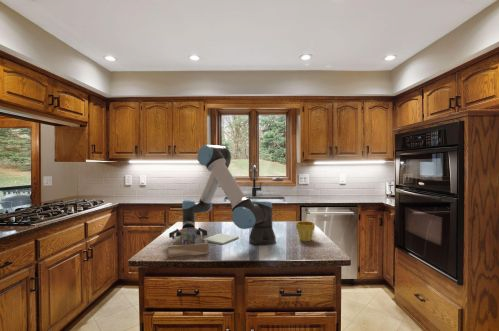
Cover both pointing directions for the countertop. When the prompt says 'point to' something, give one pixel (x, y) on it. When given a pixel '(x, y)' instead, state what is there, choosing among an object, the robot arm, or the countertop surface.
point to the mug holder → (188, 249)
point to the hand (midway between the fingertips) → (188, 237)
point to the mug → (188, 235)
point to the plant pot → (305, 230)
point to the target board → (221, 239)
